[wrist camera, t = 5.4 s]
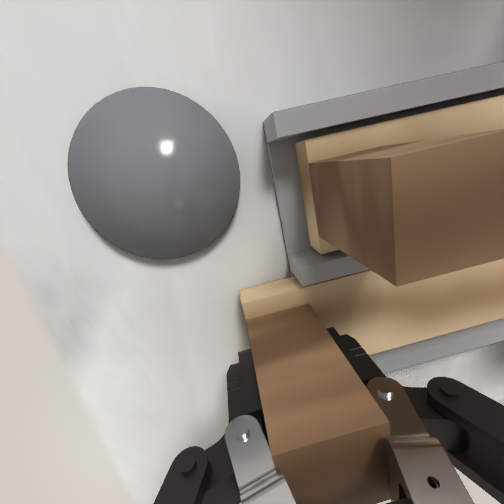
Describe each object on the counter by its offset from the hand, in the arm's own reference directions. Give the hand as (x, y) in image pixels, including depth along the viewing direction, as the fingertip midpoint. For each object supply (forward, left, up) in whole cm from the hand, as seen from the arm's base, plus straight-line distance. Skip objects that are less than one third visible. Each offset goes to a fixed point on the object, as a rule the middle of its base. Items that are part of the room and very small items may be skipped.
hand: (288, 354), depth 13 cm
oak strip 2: (0, +11, -3) cm, 12 cm away
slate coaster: (-10, -4, -3) cm, 11 cm away
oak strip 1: (-7, +16, -3) cm, 18 cm away
